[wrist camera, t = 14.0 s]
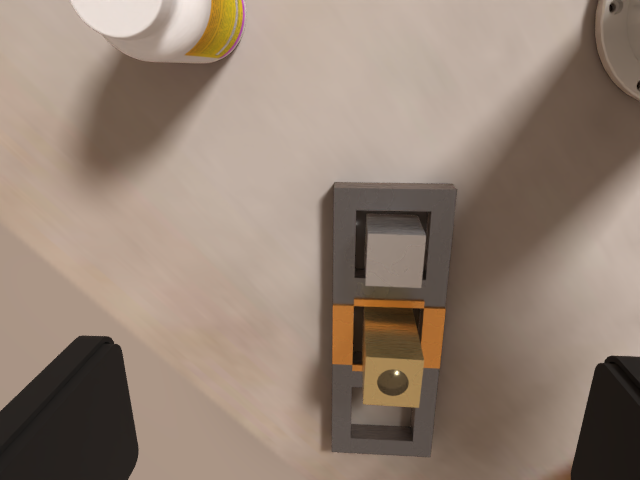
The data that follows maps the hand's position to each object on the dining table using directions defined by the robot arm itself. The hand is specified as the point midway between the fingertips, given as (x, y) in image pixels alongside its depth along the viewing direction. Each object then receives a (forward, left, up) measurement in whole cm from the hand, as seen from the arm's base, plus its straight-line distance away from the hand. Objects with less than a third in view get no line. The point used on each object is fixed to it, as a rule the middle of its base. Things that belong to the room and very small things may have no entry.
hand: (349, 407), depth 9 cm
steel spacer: (-3, +6, -28) cm, 29 cm away
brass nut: (-3, +14, -28) cm, 32 cm away
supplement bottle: (+11, -10, -28) cm, 32 cm away
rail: (-3, +14, -28) cm, 32 cm away
